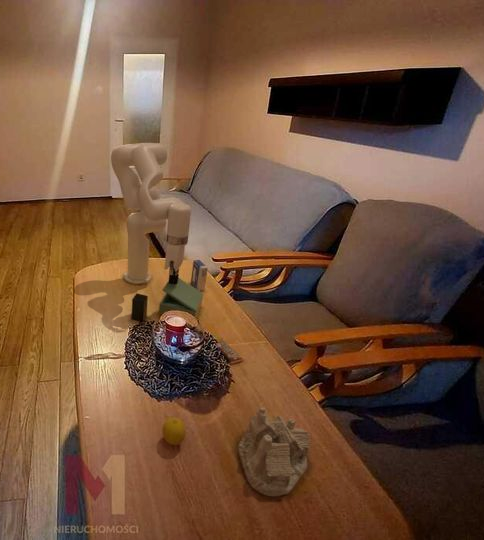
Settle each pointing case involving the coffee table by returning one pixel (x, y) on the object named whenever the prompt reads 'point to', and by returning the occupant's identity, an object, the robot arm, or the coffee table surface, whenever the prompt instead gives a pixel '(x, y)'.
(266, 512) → the coffee table surface
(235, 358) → the chocolate bar
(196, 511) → the coffee table surface
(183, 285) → the lid
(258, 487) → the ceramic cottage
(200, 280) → the walkman
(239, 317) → the coffee table surface
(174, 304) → the green shallow box
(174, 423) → the lemon
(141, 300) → the iron block
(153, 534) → the coffee table surface
